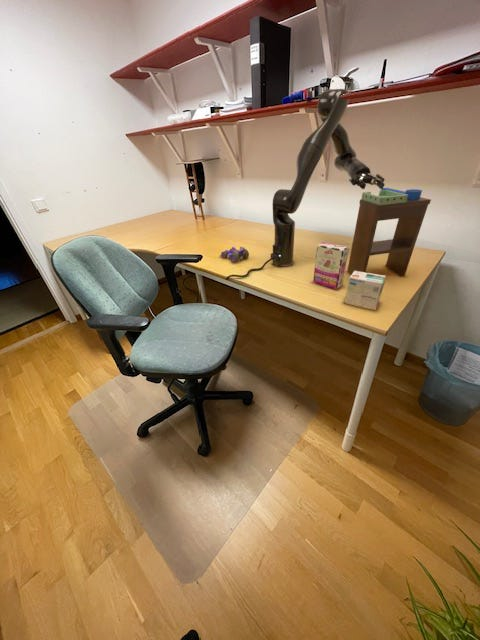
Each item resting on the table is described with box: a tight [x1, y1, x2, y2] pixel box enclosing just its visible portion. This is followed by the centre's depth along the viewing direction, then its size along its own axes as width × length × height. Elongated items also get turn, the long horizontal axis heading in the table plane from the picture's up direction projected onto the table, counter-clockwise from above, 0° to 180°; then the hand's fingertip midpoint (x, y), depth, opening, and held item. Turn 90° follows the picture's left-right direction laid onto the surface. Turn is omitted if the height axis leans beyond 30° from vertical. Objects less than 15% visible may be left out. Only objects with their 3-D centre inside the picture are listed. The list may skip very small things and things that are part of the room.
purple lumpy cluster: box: [219, 246, 250, 264], centre depth 136 cm, size 10×15×6 cm, turn 43°
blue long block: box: [380, 187, 423, 200], centre depth 98 cm, size 20×5×3 cm, turn 9°
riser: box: [346, 196, 432, 277], centre depth 103 cm, size 12×20×30 cm, turn 99°
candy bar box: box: [312, 241, 350, 290], centre depth 102 cm, size 11×5×16 cm, turn 45°
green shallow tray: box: [361, 190, 408, 205], centre depth 93 cm, size 12×10×2 cm
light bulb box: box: [344, 271, 387, 311], centre depth 90 cm, size 11×7×11 cm, turn 56°
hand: (373, 186), depth 111 cm, fingers open, 8 cm apart
